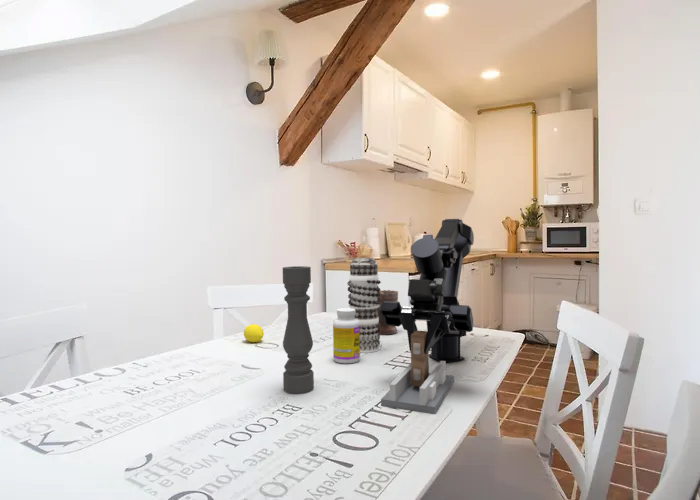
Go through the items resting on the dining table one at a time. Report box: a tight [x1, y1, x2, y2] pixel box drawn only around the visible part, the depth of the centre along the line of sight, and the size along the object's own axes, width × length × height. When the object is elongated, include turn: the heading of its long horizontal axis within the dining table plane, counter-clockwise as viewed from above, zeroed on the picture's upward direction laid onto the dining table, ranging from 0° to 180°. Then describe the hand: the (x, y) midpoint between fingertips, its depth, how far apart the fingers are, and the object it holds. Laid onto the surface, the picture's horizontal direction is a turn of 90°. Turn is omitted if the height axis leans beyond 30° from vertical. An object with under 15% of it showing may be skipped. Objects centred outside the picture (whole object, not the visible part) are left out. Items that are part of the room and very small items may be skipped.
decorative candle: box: [347, 257, 382, 354], centre depth 121 cm, size 9×9×25 cm
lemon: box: [243, 323, 265, 344], centre depth 130 cm, size 7×5×5 cm
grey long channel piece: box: [380, 361, 455, 415], centre depth 87 cm, size 18×10×4 cm, turn 156°
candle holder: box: [282, 265, 315, 395], centre depth 90 cm, size 6×6×25 cm
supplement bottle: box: [332, 307, 361, 364], centre depth 110 cm, size 7×7×13 cm
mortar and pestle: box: [377, 284, 399, 336], centre depth 139 cm, size 12×9×20 cm
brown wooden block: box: [410, 330, 430, 387], centre depth 86 cm, size 5×2×10 cm, turn 156°
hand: (418, 351), depth 85 cm, fingers closed on brown wooden block, 2 cm apart
